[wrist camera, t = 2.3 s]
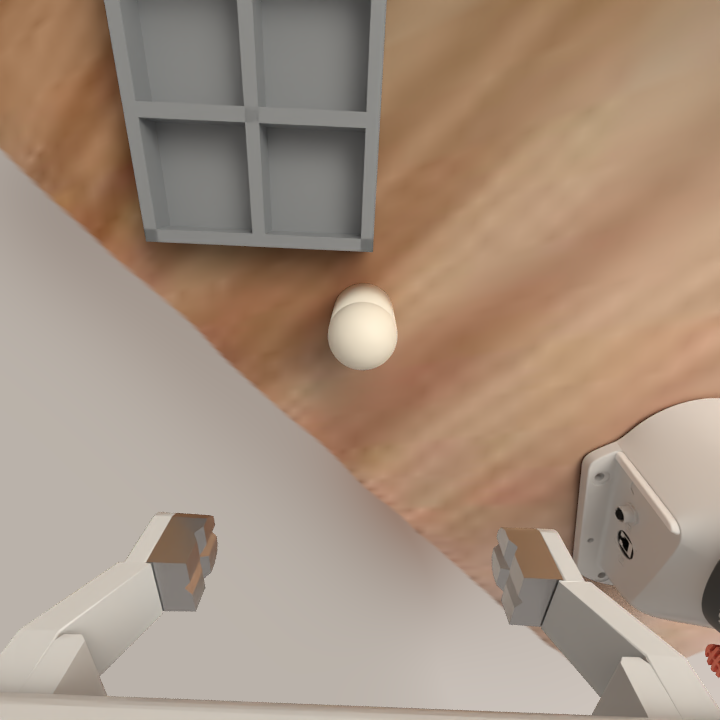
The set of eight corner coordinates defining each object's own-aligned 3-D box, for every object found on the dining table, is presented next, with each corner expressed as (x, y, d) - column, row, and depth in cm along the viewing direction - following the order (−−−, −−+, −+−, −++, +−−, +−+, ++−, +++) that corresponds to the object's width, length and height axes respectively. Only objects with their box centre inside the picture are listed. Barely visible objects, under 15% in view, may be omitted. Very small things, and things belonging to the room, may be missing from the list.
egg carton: (372, 245, 29) (372, 251, 26) (167, 235, 29) (146, 241, 26) (396, -210, 20) (401, -273, 17) (97, -224, 20) (53, -290, 17)
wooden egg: (390, 341, 32) (396, 384, 25) (333, 338, 32) (324, 380, 25) (395, 284, 30) (403, 314, 23) (334, 281, 30) (324, 311, 23)
